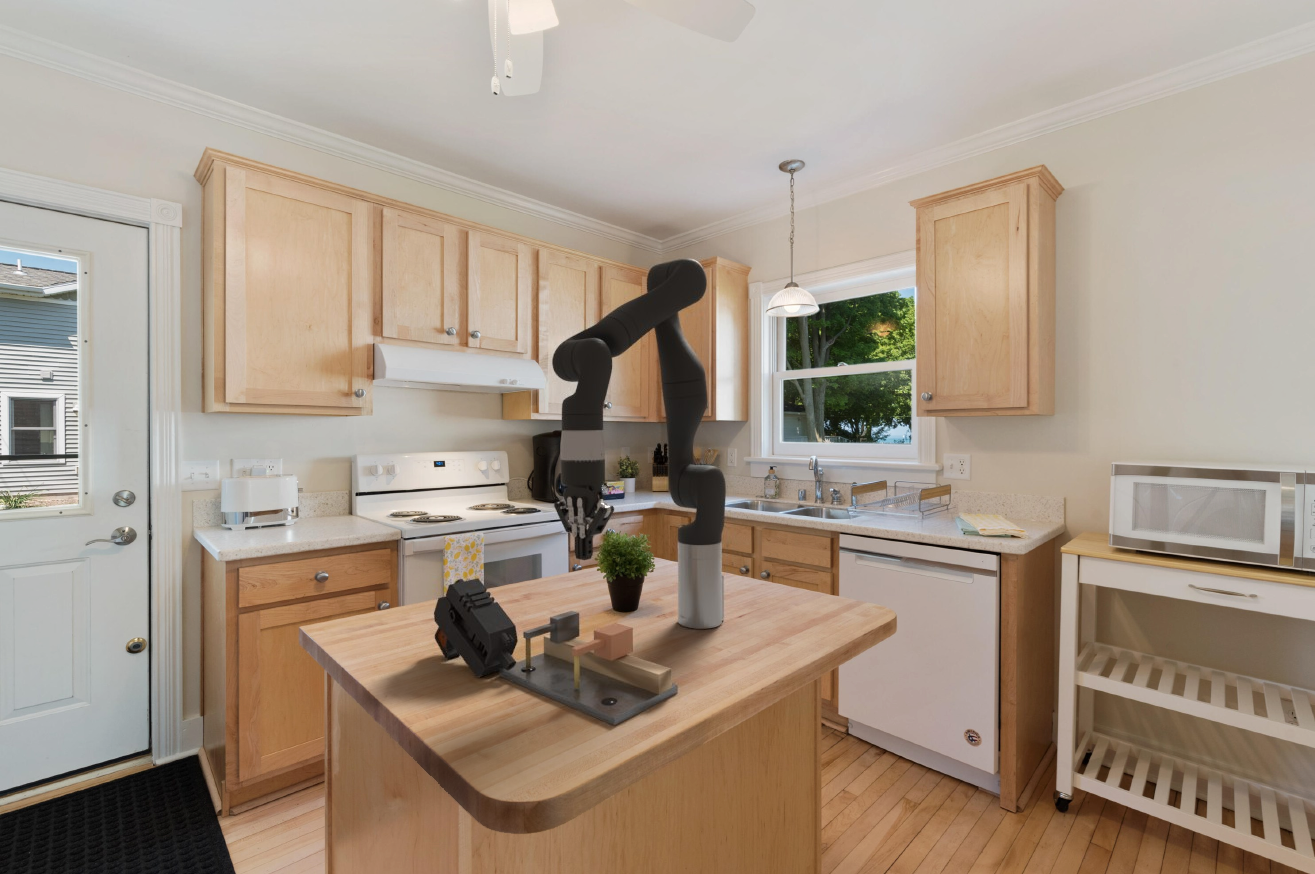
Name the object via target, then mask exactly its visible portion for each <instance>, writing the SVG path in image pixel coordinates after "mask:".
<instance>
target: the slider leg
mask: <svg viewBox="0 0 1315 874" xmlns="http://www.w3.org/2000/svg"><path fill="white" fill-rule="evenodd" d="M592 650H594V655H596V656H599V657H602V658H604V659H607V660H610V661H612V660H615V659H617V658H620V657H622V656H625V655H630V654H632V653H634V628H633V627H631V626H629V625H628V626H627V625H624V624H620V623H618V622H614V623H611V624H608V625H606V626H603V627H599V628H596V629H594V630H593V640H590V641H587V643H584V644H581V645H579V646H576V647H573V648H572V655H574V687H575V688H579V687H580V666H579V655H582V654H585V653H587V652H590V651H592Z"/></svg>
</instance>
